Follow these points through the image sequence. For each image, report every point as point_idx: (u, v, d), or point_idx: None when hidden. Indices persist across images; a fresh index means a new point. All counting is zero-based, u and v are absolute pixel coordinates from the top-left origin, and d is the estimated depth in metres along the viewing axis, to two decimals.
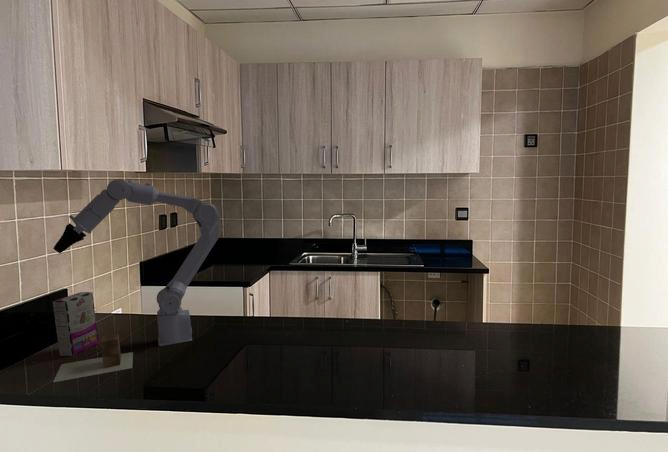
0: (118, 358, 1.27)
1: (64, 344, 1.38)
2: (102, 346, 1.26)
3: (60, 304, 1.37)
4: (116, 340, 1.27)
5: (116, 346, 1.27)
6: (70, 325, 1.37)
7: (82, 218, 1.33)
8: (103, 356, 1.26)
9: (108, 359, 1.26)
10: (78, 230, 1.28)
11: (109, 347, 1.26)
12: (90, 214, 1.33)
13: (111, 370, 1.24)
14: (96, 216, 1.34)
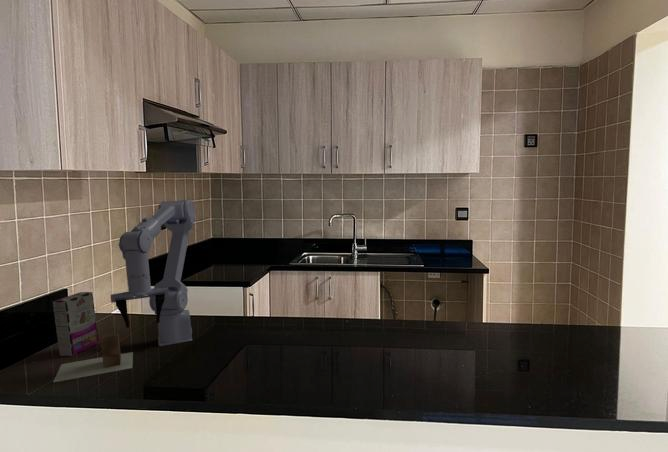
0: (118, 358, 1.27)
1: (64, 344, 1.38)
2: (102, 346, 1.26)
3: (60, 304, 1.37)
4: (116, 340, 1.27)
5: (116, 346, 1.27)
6: (70, 325, 1.37)
7: (149, 286, 1.31)
8: (103, 356, 1.26)
9: (108, 359, 1.26)
10: None
11: (109, 347, 1.26)
12: (149, 277, 1.31)
13: (111, 370, 1.24)
14: None
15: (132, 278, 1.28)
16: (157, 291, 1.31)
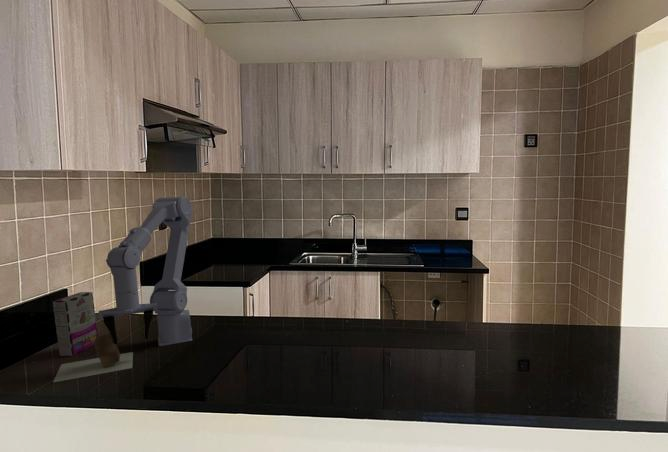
0: (115, 355, 1.27)
1: (64, 344, 1.38)
2: (96, 347, 1.25)
3: (59, 304, 1.37)
4: (108, 339, 1.26)
5: (110, 344, 1.26)
6: (70, 325, 1.37)
7: (137, 302, 1.30)
8: (100, 357, 1.26)
9: (106, 359, 1.26)
10: None
11: (103, 347, 1.26)
12: (137, 293, 1.30)
13: (111, 370, 1.24)
14: None
15: (120, 294, 1.27)
16: (145, 307, 1.30)
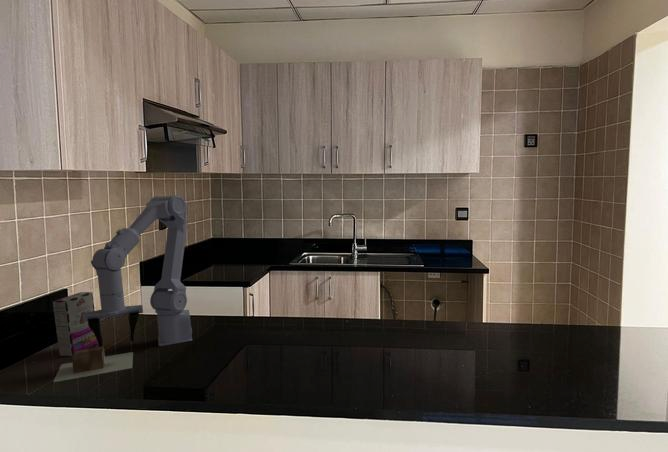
0: (94, 355, 1.25)
1: (64, 344, 1.38)
2: (79, 371, 1.24)
3: (60, 304, 1.37)
4: (73, 359, 1.23)
5: (80, 358, 1.24)
6: (70, 325, 1.37)
7: (123, 304, 1.29)
8: (90, 369, 1.25)
9: (94, 364, 1.25)
10: None
11: (80, 364, 1.24)
12: (123, 295, 1.29)
13: (111, 370, 1.24)
14: None
15: (105, 296, 1.26)
16: (131, 309, 1.29)
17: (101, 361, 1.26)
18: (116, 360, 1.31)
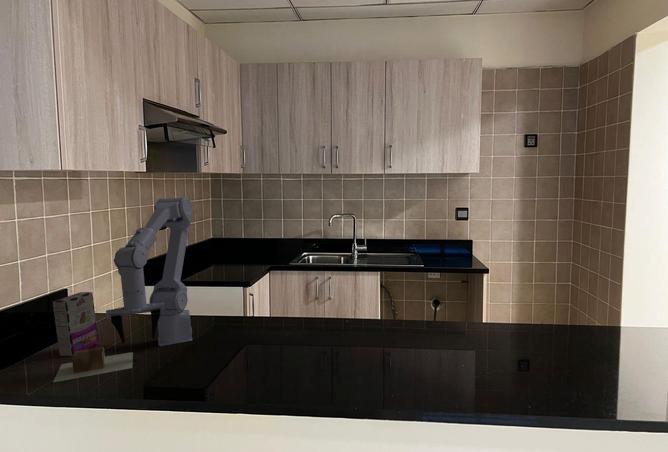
0: (94, 355, 1.25)
1: (64, 344, 1.38)
2: (79, 371, 1.24)
3: (60, 304, 1.37)
4: (73, 359, 1.23)
5: (80, 358, 1.24)
6: (70, 325, 1.37)
7: (145, 301, 1.31)
8: (90, 369, 1.25)
9: (94, 364, 1.25)
10: None
11: (80, 364, 1.24)
12: None
13: (111, 370, 1.24)
14: None
15: (127, 294, 1.28)
16: (153, 307, 1.31)
17: (101, 361, 1.26)
18: (116, 360, 1.31)
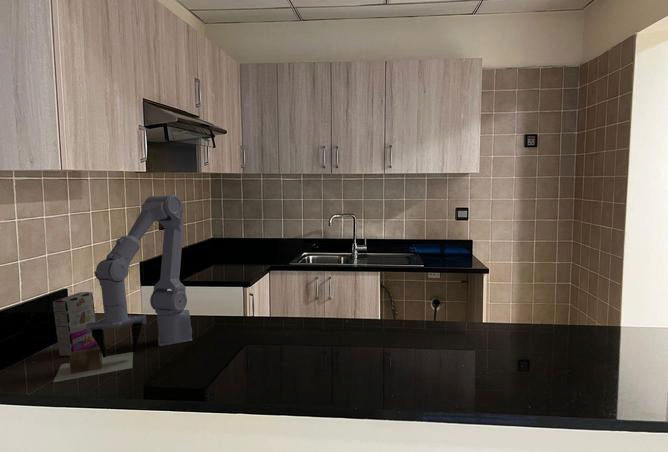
0: (91, 355, 1.25)
1: (64, 344, 1.38)
2: (76, 371, 1.24)
3: (59, 304, 1.37)
4: (70, 359, 1.23)
5: (77, 359, 1.24)
6: (70, 325, 1.37)
7: (126, 314, 1.29)
8: (88, 369, 1.25)
9: (92, 364, 1.25)
10: None
11: (78, 365, 1.24)
12: (126, 305, 1.30)
13: (111, 370, 1.24)
14: None
15: (108, 307, 1.26)
16: (134, 320, 1.29)
17: (99, 361, 1.25)
18: (116, 360, 1.31)
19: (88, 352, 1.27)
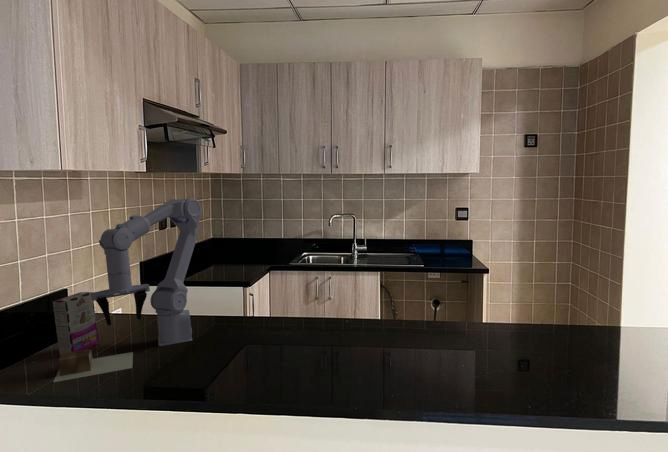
0: (81, 357, 1.24)
1: (64, 344, 1.38)
2: (65, 373, 1.23)
3: (60, 304, 1.37)
4: (59, 361, 1.22)
5: (66, 360, 1.23)
6: (70, 325, 1.37)
7: (131, 282, 1.32)
8: (77, 371, 1.24)
9: (81, 366, 1.24)
10: None
11: (67, 367, 1.23)
12: (130, 274, 1.32)
13: (111, 370, 1.24)
14: None
15: (115, 275, 1.28)
16: (139, 287, 1.33)
17: (88, 363, 1.25)
18: (116, 360, 1.31)
19: (78, 354, 1.26)
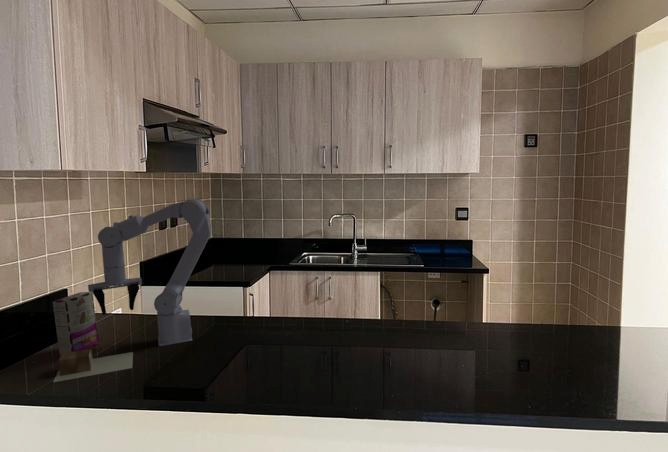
0: (81, 357, 1.24)
1: (64, 344, 1.38)
2: (65, 373, 1.23)
3: (60, 304, 1.37)
4: (59, 361, 1.22)
5: (66, 360, 1.23)
6: (70, 325, 1.37)
7: (125, 276, 1.44)
8: (77, 371, 1.24)
9: (81, 366, 1.24)
10: None
11: (67, 367, 1.23)
12: (124, 268, 1.44)
13: (111, 370, 1.24)
14: None
15: (110, 269, 1.40)
16: (132, 281, 1.45)
17: (88, 363, 1.25)
18: (116, 360, 1.31)
19: (78, 354, 1.26)
